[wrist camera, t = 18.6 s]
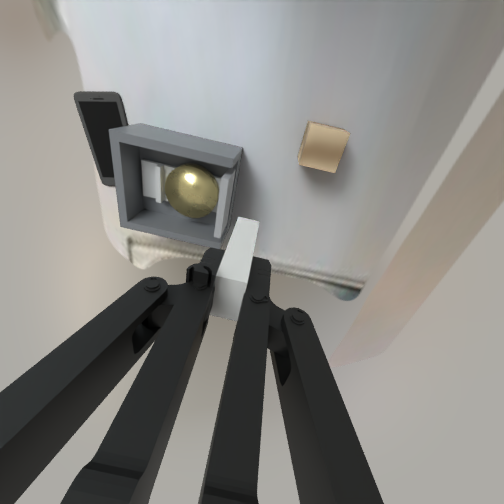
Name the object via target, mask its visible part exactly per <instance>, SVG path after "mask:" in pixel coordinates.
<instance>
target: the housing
mask: <svg viewBox="0 0 504 504" xmlns="http://www.w3.org/2000/svg"><path fill="white" fill-rule="evenodd" d="M109 137H110V145H111V153H112V161H113V169H114V178H115V186H116V194H117V202H118V210H119V218H120V226H121V227H124V228H128V229H132V230H137V231H141V232H145V233H150V234H154V235H158V236H163V237H167V238H171V239H176V240H180V241H184V242H189V243H193V244H197V245H202V246H206V247H210V248H211V247H212V248H216V249H221V246H222V244H223V241H224V239H225V237H226V234H227V232H228V230H229V227H230V222H231V216H232V210H233V203H234V197H235V191H236V185H237V179H238V173H239V167H240V161H241V155H242V149H243V148H242V147H238V146H234V145H230V144H226V143H221V142H217V141H213V140H209V139H204V138H200V137H196V136H192V135H188V134H183V133H179V132H175V131H171V130H166V129H162V128H158V127H154V126H150V125H145V124H141V123H140V124H135V125H129V126H124V127H119V128H113V129H109ZM143 159H145V160H150V161H154V162H158V163H162V164H167V165H171V166H175V167H179V166H180V165H183V164H188V163H193V164H197V165H200V166H202V167H204V168H206V169H207V170H208V171H210V172H211V173H212V175H213V176H218V177H222V176H223V175H224V174H225V172H226V171H227V170H228V169H229V168H232V169H236V171H235V177H234V183H233V190H232V196H231V202H230V209H229V215H228V221H227V225H226V227H225V229H224V231H223V233H222V236H221V238H216V237H214V231H215V223H216V215H217V213H216V212H212V211H211V212H210V213H209V214H208V215H206V216H204V217H201V218H190V217H186V216H184V215H182V214H180V213H179V212H177V211H176V210H175V209H174V208H173V207H172V206H171V204H170V203H169V201H163V202H162V203H158V202H156V198H152V197H147V196H143V181H142V164H141V160H143Z"/></svg>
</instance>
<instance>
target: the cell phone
mask: <svg viewBox="0 0 504 504" xmlns="http://www.w3.org/2000/svg"><path fill="white" fill-rule="evenodd" d="M74 100H75V103H76V106H77V110H78V113H79V116H80V118H81V122H82V124H83V128H84V131H85V134H86V137H87V140H88V142H89V146H90V149H91V152H92V155H93V158H94V161H95V164H96V167H97V170H98V173H99V176H100V179H101V181H102V183H103V184H104V185H108V186H115V178H114V169H113V161H112V153H111V145H110V137H109V129H113V128H119V127H124V126H128V123H127V118H126V114H125V110H124V106H123V102H122V99H121V96H120V95H119V94H118V93H116V92H76V93H75V94H74Z"/></svg>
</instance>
